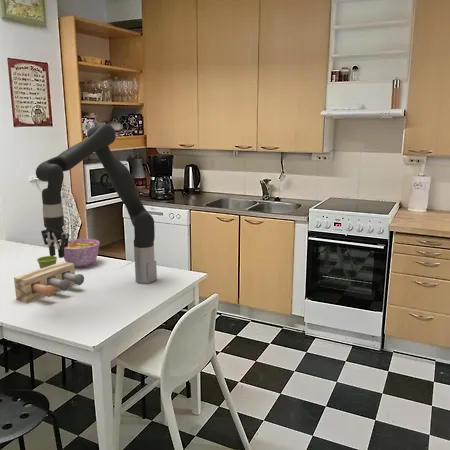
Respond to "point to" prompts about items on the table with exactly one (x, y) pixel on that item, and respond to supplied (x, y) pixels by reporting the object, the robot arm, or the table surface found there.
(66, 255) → the bowl of food
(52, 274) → the socket rail
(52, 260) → the plant pot
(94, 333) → the table surface
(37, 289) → the dowel terracotta
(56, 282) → the grey dowel
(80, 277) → the grey dowel
